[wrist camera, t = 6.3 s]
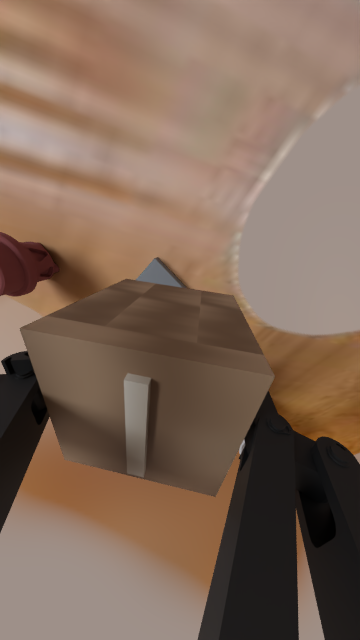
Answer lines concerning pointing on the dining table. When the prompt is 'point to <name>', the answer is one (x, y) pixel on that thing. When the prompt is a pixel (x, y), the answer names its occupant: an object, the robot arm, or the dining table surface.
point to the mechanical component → (23, 266)
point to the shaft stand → (159, 274)
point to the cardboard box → (151, 381)
